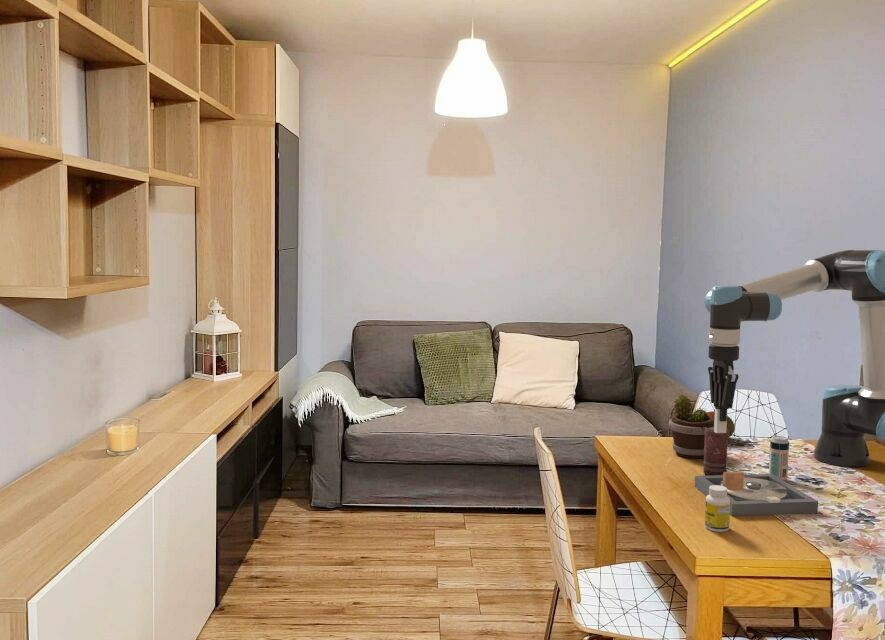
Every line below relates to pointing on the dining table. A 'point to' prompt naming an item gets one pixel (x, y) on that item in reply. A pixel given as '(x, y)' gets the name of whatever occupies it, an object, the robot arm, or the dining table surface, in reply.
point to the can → (715, 452)
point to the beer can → (779, 457)
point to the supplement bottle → (717, 509)
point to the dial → (751, 487)
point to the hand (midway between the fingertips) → (720, 432)
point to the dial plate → (771, 506)
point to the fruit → (729, 422)
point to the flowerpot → (689, 428)
